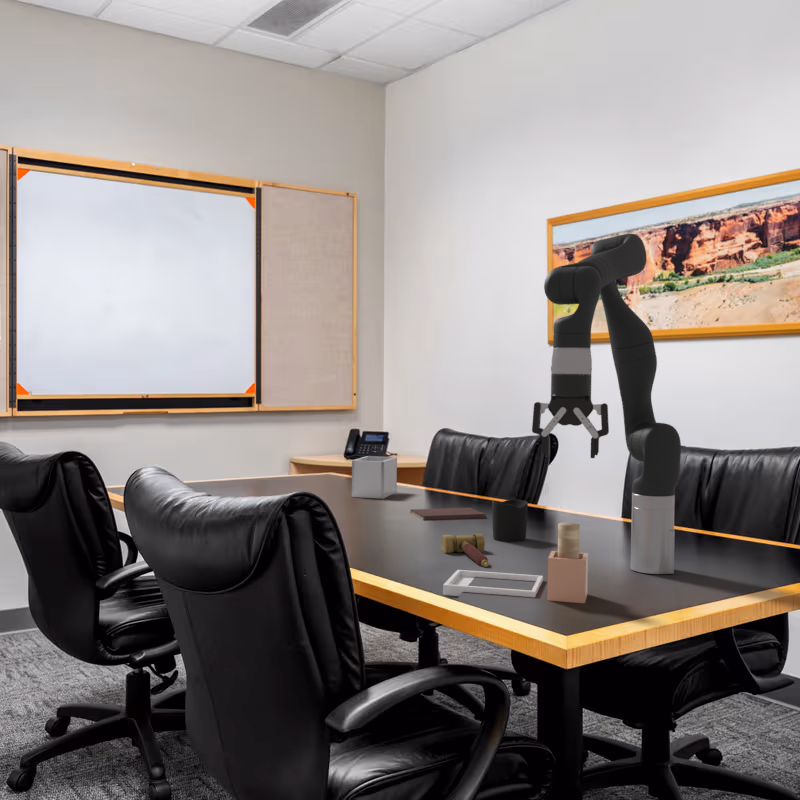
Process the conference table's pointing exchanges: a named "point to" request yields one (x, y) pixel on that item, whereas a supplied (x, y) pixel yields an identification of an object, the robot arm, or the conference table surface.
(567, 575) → the pink open-ended box
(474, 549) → the gavel
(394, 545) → the conference table surface
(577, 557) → the dowel pin
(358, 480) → the gray open-top cube
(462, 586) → the tray
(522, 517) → the pen holder
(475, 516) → the notebook
